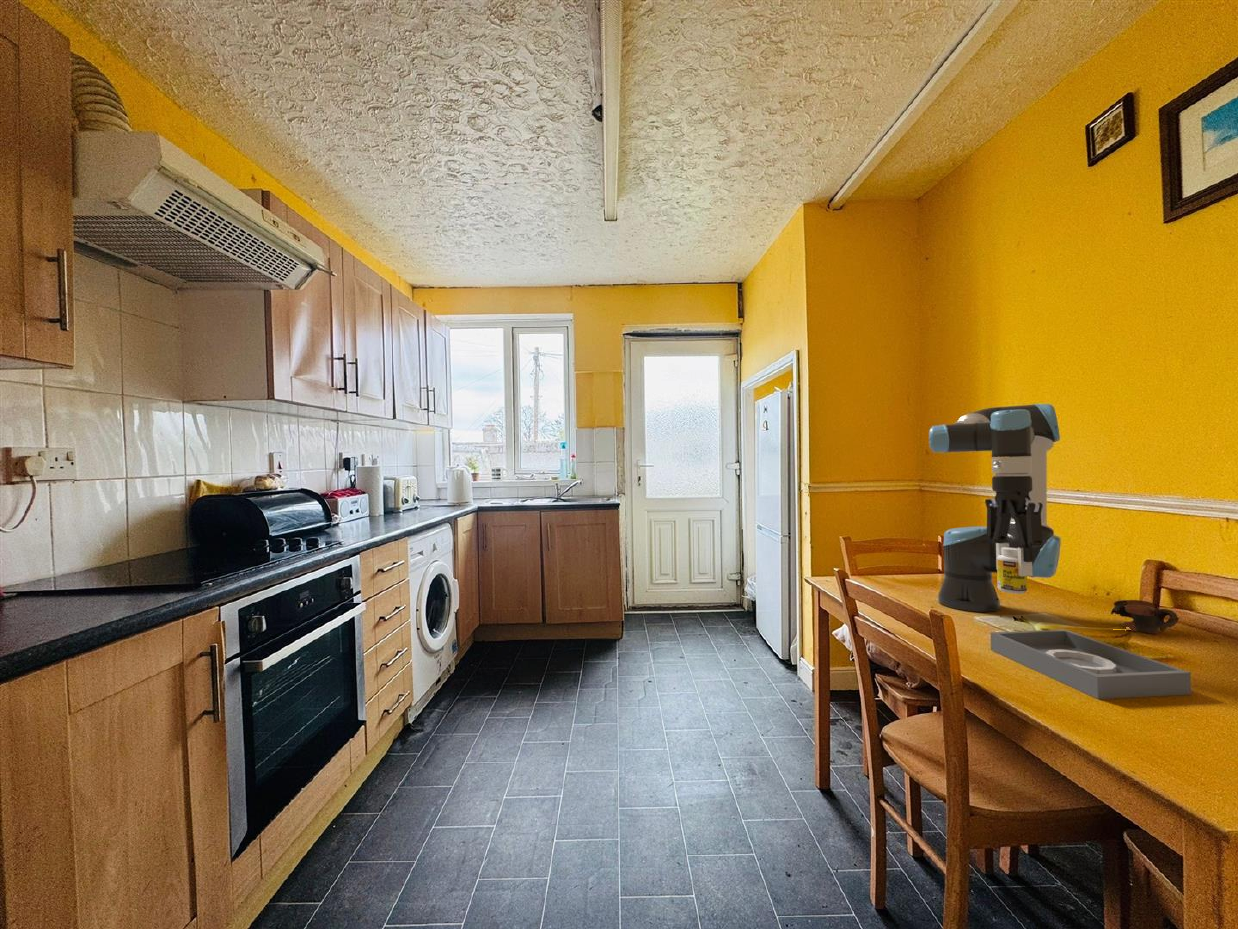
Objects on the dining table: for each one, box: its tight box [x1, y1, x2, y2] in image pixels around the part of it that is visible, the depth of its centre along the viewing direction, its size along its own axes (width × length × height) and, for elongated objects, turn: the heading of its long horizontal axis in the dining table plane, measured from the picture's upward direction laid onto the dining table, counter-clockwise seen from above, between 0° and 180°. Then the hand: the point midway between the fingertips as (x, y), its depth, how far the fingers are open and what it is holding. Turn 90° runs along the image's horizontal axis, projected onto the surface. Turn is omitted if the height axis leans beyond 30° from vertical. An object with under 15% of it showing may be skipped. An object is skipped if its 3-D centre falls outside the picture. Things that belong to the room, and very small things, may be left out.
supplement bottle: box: [996, 547, 1028, 595], centre depth 118 cm, size 6×6×10 cm
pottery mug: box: [1110, 599, 1180, 635], centre depth 125 cm, size 12×10×8 cm
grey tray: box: [989, 628, 1192, 700], centre depth 102 cm, size 24×18×4 cm
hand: (1013, 572), depth 118 cm, fingers closed on supplement bottle, 5 cm apart
